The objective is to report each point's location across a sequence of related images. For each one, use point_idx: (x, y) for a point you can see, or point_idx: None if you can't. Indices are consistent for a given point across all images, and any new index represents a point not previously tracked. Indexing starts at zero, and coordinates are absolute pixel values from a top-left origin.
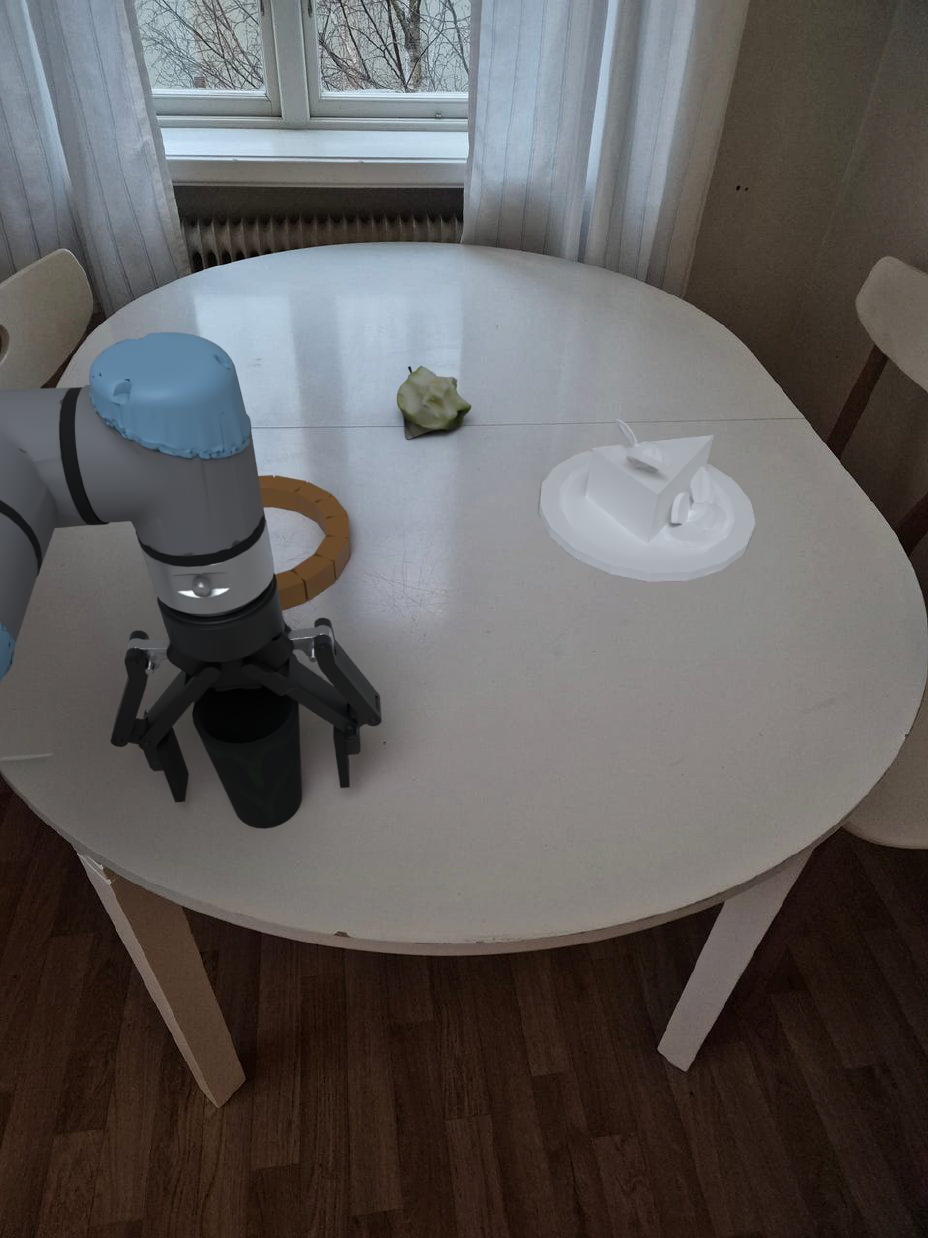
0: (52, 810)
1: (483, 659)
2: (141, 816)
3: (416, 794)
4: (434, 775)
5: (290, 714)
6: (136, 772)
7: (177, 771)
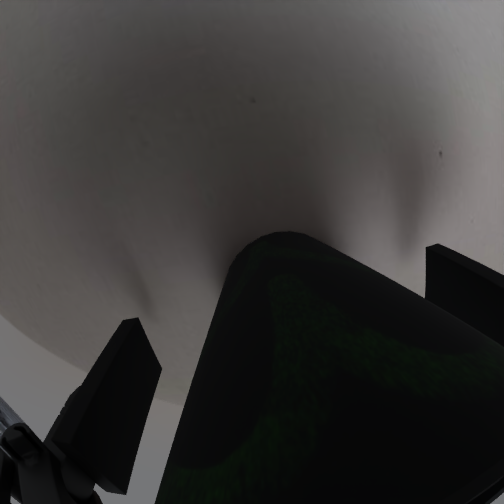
0: (18, 327)
1: (492, 33)
2: (103, 334)
3: (472, 244)
4: (487, 212)
5: (502, 490)
6: (57, 263)
7: (138, 408)
